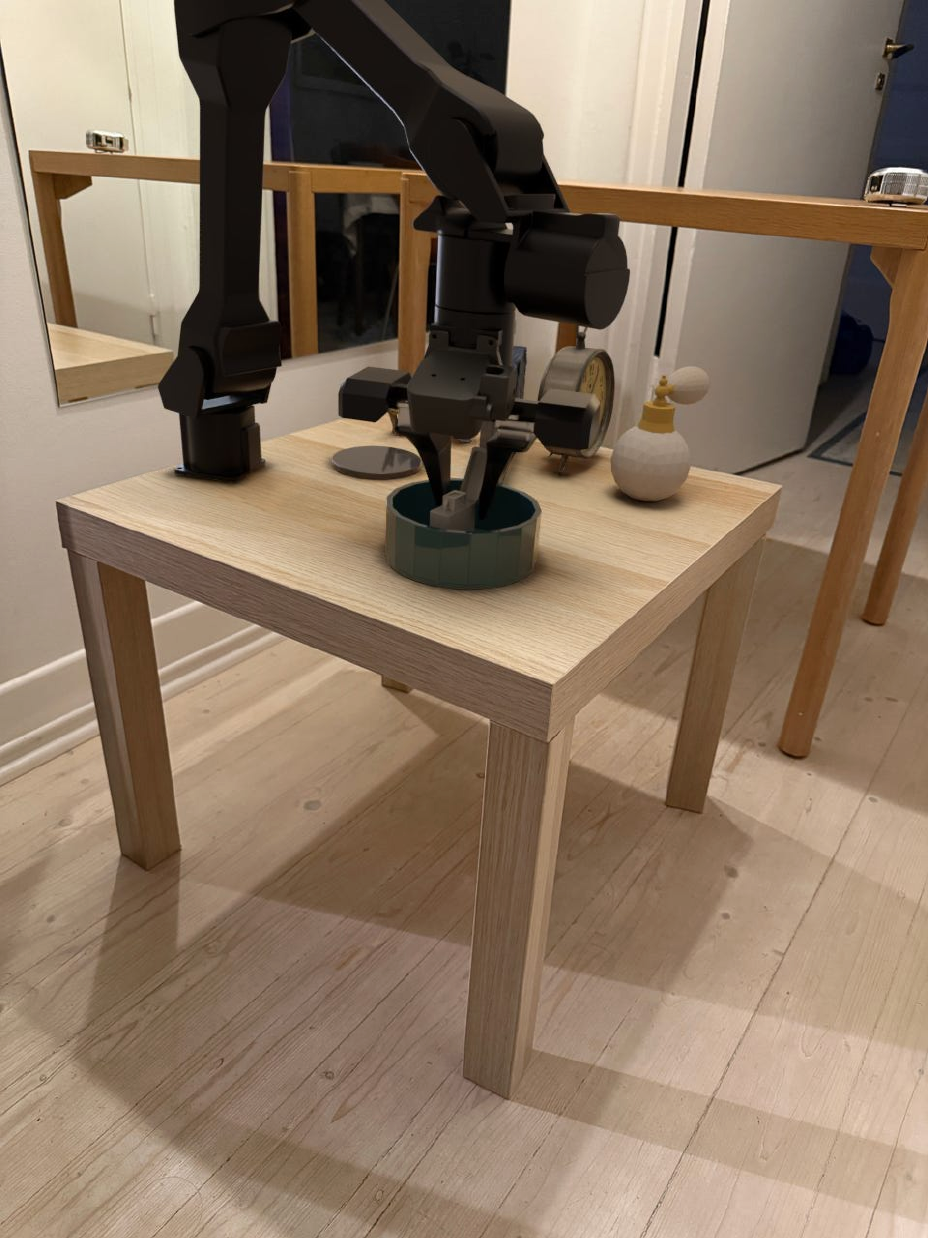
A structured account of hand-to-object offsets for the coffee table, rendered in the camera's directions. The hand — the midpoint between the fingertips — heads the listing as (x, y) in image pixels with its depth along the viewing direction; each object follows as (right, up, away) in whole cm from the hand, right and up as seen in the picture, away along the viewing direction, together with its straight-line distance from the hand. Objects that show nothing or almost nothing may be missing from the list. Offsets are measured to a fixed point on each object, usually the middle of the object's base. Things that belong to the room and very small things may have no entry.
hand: (462, 515), depth 71 cm
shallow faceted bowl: (0, -3, +2) cm, 4 cm away
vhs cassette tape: (+4, +9, +26) cm, 27 cm away
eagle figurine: (-4, +12, +30) cm, 33 cm away
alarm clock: (+11, +8, +25) cm, 29 cm away
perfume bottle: (+18, +4, +18) cm, 26 cm away
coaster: (-9, +8, +21) cm, 24 cm away
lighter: (0, -3, +1) cm, 3 cm away
